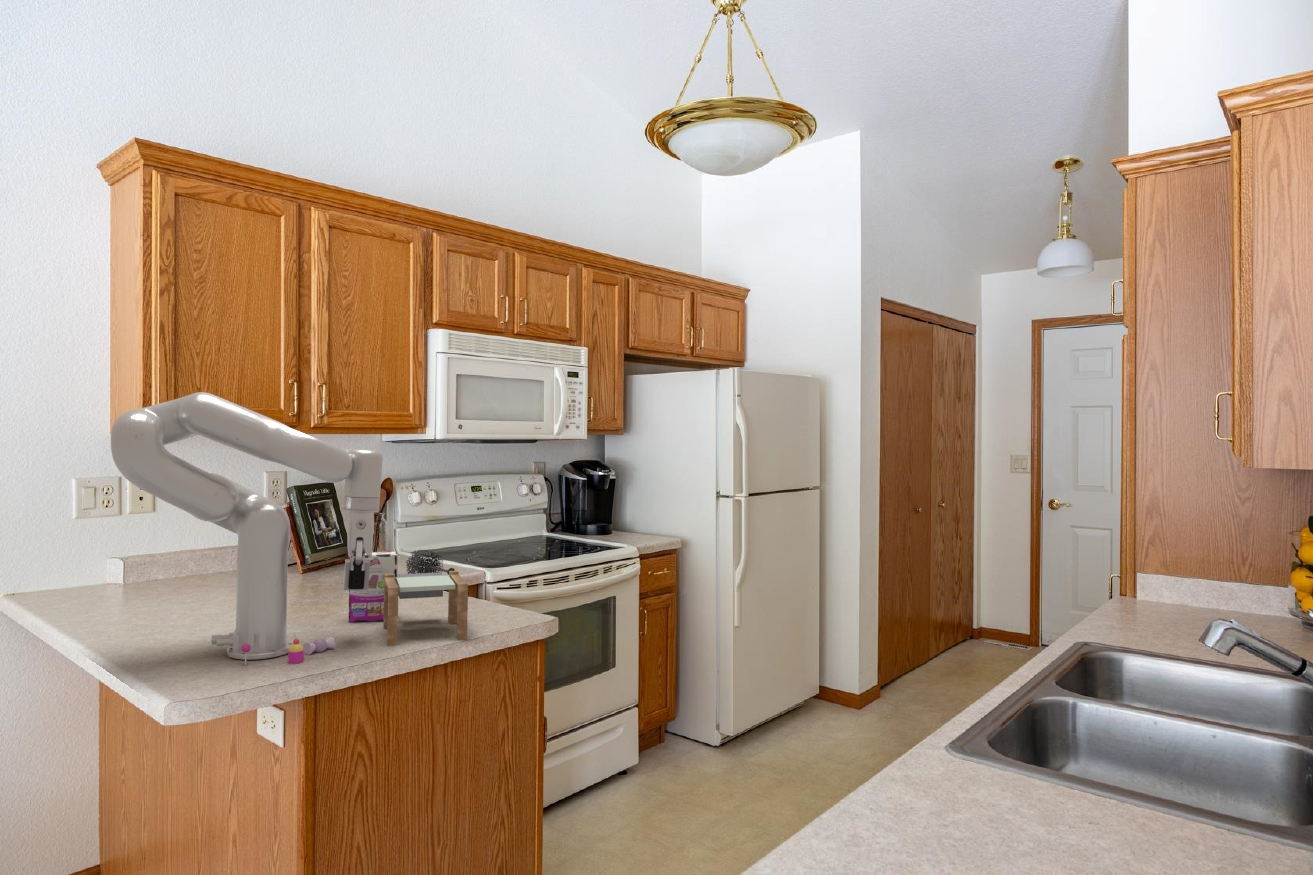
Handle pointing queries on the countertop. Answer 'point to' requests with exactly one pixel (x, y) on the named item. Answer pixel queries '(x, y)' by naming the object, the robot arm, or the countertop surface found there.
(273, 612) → the robot arm
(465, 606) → the frame
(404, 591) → the trapdoor
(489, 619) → the countertop surface
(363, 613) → the candy bar box
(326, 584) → the countertop surface
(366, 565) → the light gray block
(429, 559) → the massage brush
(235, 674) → the countertop surface
